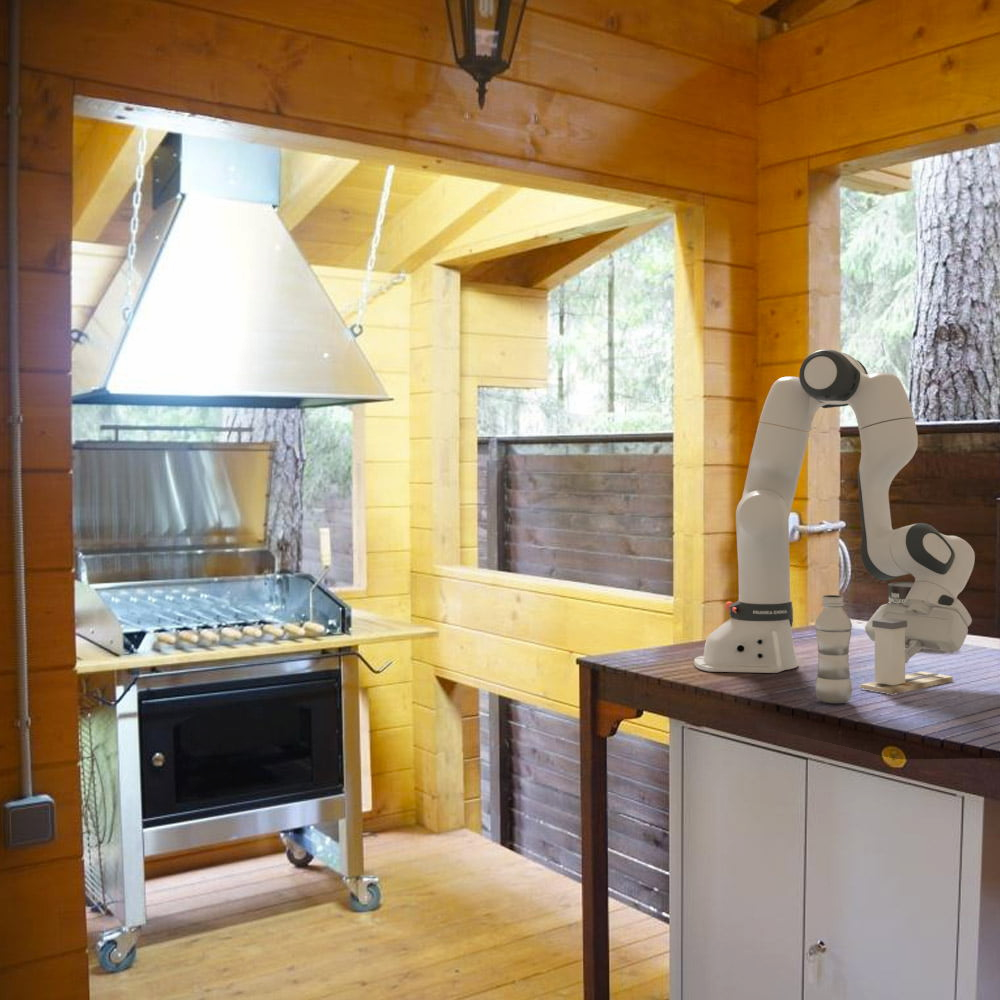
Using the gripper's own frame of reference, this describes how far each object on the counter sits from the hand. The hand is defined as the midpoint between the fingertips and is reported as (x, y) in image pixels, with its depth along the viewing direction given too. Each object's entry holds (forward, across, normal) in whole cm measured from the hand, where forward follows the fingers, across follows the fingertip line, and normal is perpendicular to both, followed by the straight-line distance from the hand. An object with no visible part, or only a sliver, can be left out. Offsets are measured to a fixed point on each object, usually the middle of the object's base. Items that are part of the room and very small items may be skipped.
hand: (898, 660), depth 220 cm
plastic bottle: (+19, +1, -11) cm, 21 cm away
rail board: (+2, 0, +6) cm, 6 cm away
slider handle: (+5, 0, +1) cm, 5 cm away
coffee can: (-30, -30, +38) cm, 57 cm away
